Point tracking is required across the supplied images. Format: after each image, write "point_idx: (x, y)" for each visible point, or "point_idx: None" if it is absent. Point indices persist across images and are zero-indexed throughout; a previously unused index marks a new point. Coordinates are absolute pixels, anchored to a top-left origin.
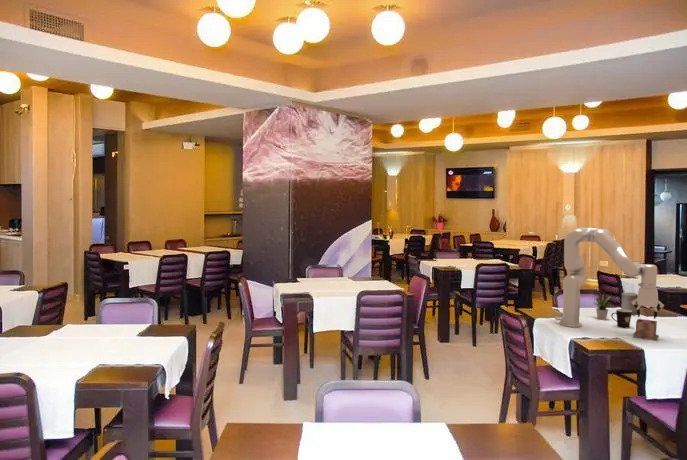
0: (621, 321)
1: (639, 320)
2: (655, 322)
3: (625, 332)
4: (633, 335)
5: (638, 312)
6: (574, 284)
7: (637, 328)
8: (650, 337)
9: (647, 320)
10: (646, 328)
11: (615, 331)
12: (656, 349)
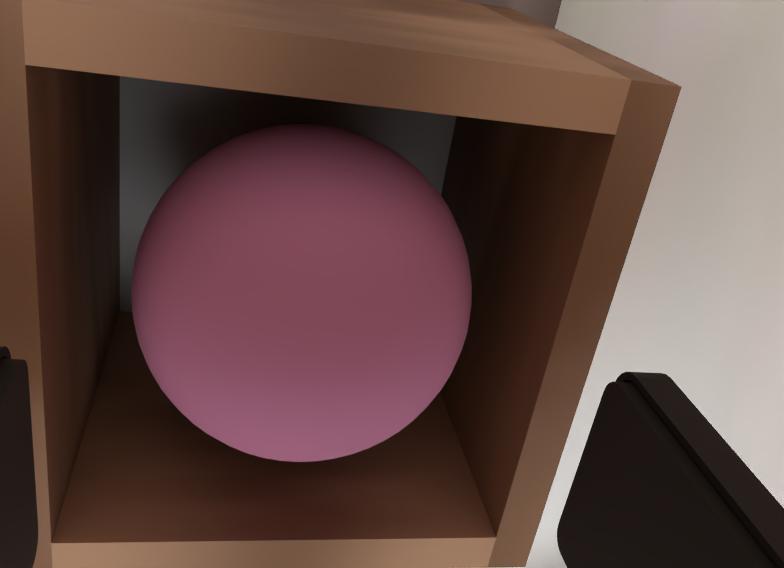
0: None
1: (478, 511)
2: (11, 355)
3: (613, 329)
4: (547, 22)
5: (761, 495)
6: None
7: (540, 37)
8: None
9: (289, 334)
10: (303, 3)
11: (765, 312)
12: None
